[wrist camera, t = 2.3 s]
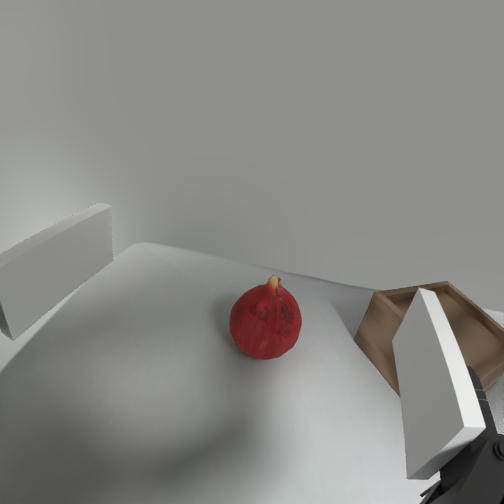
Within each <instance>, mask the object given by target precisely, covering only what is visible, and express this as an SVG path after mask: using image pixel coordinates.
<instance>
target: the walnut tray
mask: <svg viewBox="0 0 504 504" xmlns="http://www.w3.org/2000/svg"><path fill="white" fill-rule="evenodd" d="M418 288H422V289H426V290H430V291H433V292H435V294H436V296H437V298H438V300H439V302H440V304H441V307H442V309H443V311H444V313H445V316H446V318H447V320H448V322H449V325H450V327H451V329H452V332H453V334H454V336H455V339H456V341H457V344H458V346H459V349H460V351H461V354H462V357H463V359H464V362H465V364H466V366H471V367H472V369H473V370H474V371H475V373H476V374H477V375H478V377H479V379H480V381H481V384H482V387H483V391H484V393H485V392H486V391H488V390H489V389H490V388H491V387H492V386H493V385H494V384H495V383H496V381H497V380H498V379H499V377H500V376H501V375H502V373H503V372H504V328H503V327H501V326H500V325H499V324H498V323H497V322H496V321H495V320H493V319H492V318H491V317H490V316H489V315H488V314H487V313H485V312H484V311H483V310H482V309H481V308H479V307H478V306H477V305H476V304H474V303H473V302H472V301H471V300H470V299H469V298H467V297H466V296H465V295H464V294H463V293H461V292H460V291H459V290H458V289H456V288H455V287H454V286H453V285H451V284H450V283H449V282H448V281H444V282H439V283H432V284H426V285H420V286H413V287H407V288H400V289H393V290H386V291H379V292H374V294H373V297H372V299H371V301H370V304H369V306H368V309H367V311H366V313H365V316H364V318H363V320H362V323H361V325H360V327H359V329H358V332H357V334H356V336H355V338H354V341H355V342H356V344H357V345H358V346H359V347H360V348H361V350H362V351H363V352H364V353H365V355H366V356H367V357H368V358H369V359H370V361H371V362H372V363H373V364H374V365H375V367H376V368H377V369H378V370H379V372H380V373H381V374H382V375H383V376H384V378H385V379H386V380H387V381H388V383H389V384H390V385H391V386H392V388H393V389H394V390H395V391H396V392H397V394H398V395H399V396H400V390H399V383H398V376H397V369H396V363H395V356H394V350H393V345H392V340H393V338H394V336H395V334H396V333H397V331H398V329H399V327H400V325H401V323H402V321H403V319H404V317H405V315H406V313H407V311H408V309H409V307H410V305H411V303H412V301H413V299H414V296H415V294H416V292H417V290H418Z"/></svg>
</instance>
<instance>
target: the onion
mask: <svg viewBox="0 0 504 504" xmlns="http://www.w3.org/2000/svg"><path fill="white" fill-rule="evenodd" d="M280 281H281V279H280V278H279V277H278V276H276V275H273V276H272V277H271V278H269V280H268V282H267V284H264V285H259V286H257V287H255V288H252V289H250V290H249V291H247V292H245V293H244V294H243V295H242V296H241V297H240V298H239V299H238V301H237V302H236V303H235V305H234V306H233V308H232V310H231V314H230V333H231V335H232V337H233V339H234V341H235V343H236V345H237V346H238V347H239V348H240V349H241V350H242V351H243V352H244V353H245V354H247V355H249V356H251V357H253V358H256V359H264V360H265V359H272V358H278V357H280V356H281V355H283V354H284V353H286V352H287V351H288V350H290V349H291V348H292V347H293V346H294V344H295V343H296V341H297V339H298V336H299V332H300V328H301V325H302V318H301V314H300V310H299V307H298V304H297V302H296V300H295V299H294V297H293V296H292V295H291V294H290V293H289V292H288V291H287V290H286V289H284V288H283V287H282V286H281V284H280Z"/></svg>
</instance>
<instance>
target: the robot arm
mask: <svg viewBox="0 0 504 504" xmlns="http://www.w3.org/2000/svg"><path fill="white" fill-rule="evenodd" d="M112 255H113V254H112V206H110V205H106V204H102V203H97V204H95V205H93V206H91V207H89V208H87V209H85V210H83V211H80V212H78V213H76V214H74V215H72V216H70V217H68V218H66V219H64V220H62V221H60V222H58V223H57V224H54V225H52V226H51V227H49V228H47V229H45V230H43V231H41V232H39V233H37V234H35V235H33V236H32V237H30V238H28V239H26V240H24V241H23V242H21V243H19V244H17V245H15V246H14V247H12V248H10V249H8V250H7V251H5V252H3V253H2V254H0V329H1V331H2V333H4V334H5V335H6V336H8V337H9V338H10V339H11V340H13V341H14V340H15V339H16V338H18V337H19V336H20V335H21V334H22V333H23V332H25V330H27V329H28V328H29V327H30V326H31V325H33V324H34V323H35V322H36V321H37V320H38V319H40V318H41V317H42V316H43V315H45V314H46V313H47V312H48V311H49V310H51V309H52V308H53V307H54V306H55V305H57V304H58V303H59V302H60V301H62V300H63V299H64V298H65V297H67V296H68V295H69V294H70V293H72V292H73V291H74V290H75V289H77V288H78V287H79V286H80V285H82V284H83V283H84V282H86V281H87V280H88V279H89V278H91V277H92V276H93V275H95V274H96V273H97V272H99V271H100V270H101V269H103V268H104V267H105V266H106V265H108V264H109V263H110V262H112V261H113V256H112ZM392 345H393V350H394V356H395V363H396V369H397V376H398V383H399V390H400V398H401V407H402V416H403V426H404V438H405V451H406V469H407V479H418V480H428V479H429V478H430V477H432V476H433V475H434V474H435V473H437V472H438V471H439V470H440V478H441V480H439V481H438V482H437V483H435V484H434V485H433V486H431V487H430V488H428V489H427V490H426V491H424V492H423V493H422V494H421V495H420V496H421V497H423V496H424V495H426V494H427V493H428V494H427V495H426V496H425V498H424V499H423V500H422V502H421V503H420V504H504V435H503V434H497V430H496V427H495V423H494V420H493V417H492V414H491V410H490V407H489V404H488V401H486V399H487V398H486V395H485V393H484V391H483V387H482V384H481V381H480V379H479V377H478V375H477V374H476V373H475V371H474V370H473V369H472V367H471V366H466V364H465V362H464V359H463V357H462V354H461V351H460V349H459V346H458V344H457V341H456V339H455V336H454V334H453V332H452V329H451V327H450V325H449V322H448V320H447V318H446V316H445V313H444V311H443V309H442V307H441V304H440V302H439V300H438V298H437V296H436V294H435V292H433V291H430V290H426V289H422V288H418V290H417V292H416V294H415V296H414V299H413V301H412V303H411V305H410V307H409V309H408V311H407V313H406V315H405V317H404V319H403V321H402V323H401V325H400V327H399V329H398V331H397V333H396V334H395V336H394V338H393V340H392Z"/></svg>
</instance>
